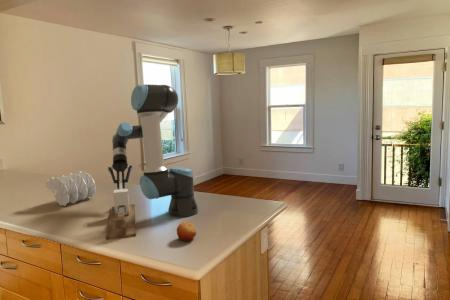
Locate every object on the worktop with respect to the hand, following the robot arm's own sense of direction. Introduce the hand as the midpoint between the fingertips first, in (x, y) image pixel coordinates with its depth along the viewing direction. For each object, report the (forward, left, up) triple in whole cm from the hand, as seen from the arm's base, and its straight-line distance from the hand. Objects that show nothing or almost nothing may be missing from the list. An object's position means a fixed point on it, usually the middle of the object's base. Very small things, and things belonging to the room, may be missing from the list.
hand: (121, 193), depth 178 cm
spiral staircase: (+28, -31, -10) cm, 43 cm away
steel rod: (0, +16, -6) cm, 17 cm away
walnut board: (0, +15, -10) cm, 18 cm away
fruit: (-26, +49, -10) cm, 57 cm away
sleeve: (0, +9, -8) cm, 12 cm away
